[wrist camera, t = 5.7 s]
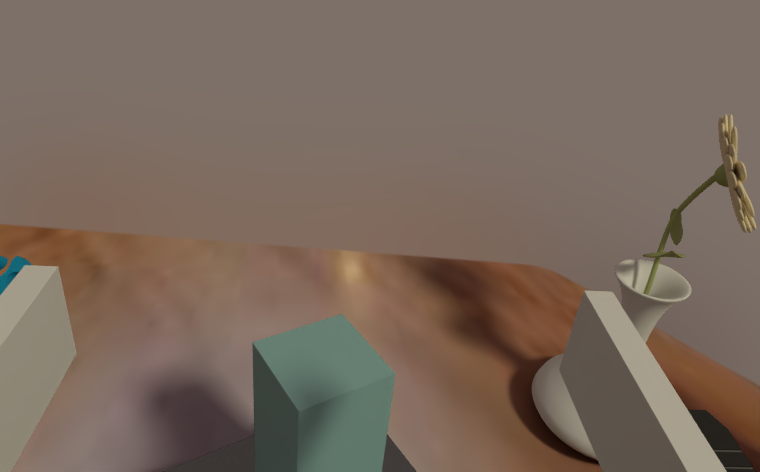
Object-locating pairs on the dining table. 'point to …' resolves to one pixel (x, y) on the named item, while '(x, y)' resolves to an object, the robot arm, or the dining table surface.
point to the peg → (320, 400)
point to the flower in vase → (643, 294)
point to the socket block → (237, 461)
